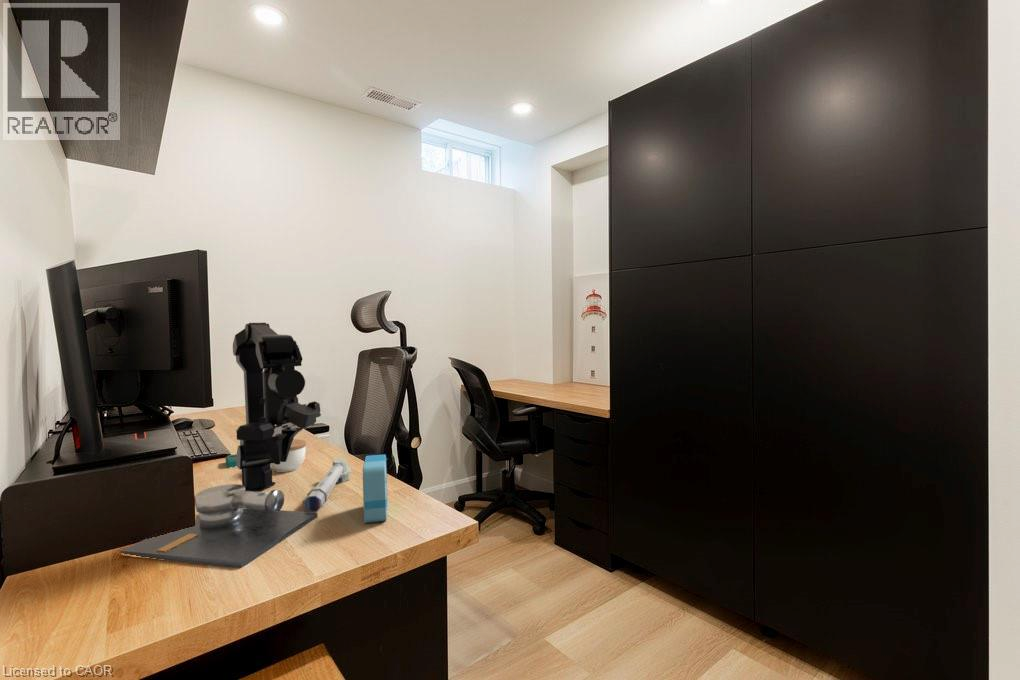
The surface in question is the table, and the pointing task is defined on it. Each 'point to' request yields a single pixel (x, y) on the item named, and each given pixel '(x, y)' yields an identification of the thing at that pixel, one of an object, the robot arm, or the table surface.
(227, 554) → the cutting board
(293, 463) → the lidded jar
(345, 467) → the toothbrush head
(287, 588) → the table surface
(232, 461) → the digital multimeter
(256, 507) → the dryer elbow
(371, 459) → the data package
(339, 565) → the table surface
